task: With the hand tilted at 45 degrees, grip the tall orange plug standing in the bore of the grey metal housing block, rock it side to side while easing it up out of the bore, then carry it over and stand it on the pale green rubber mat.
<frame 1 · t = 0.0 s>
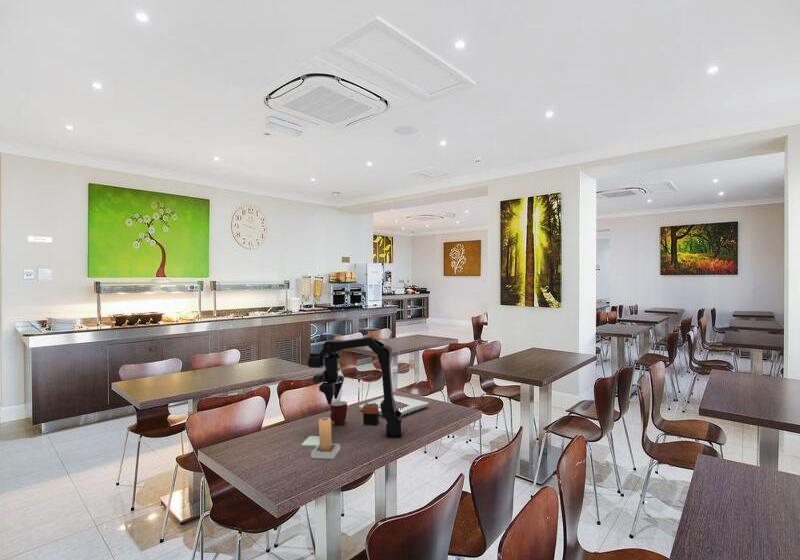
hand: (332, 401, 196), 15 cm above the table, tool pointing down, fingers open, 9 cm apart
square plate: (393, 410, 229), on the table
battery: (371, 424, 208), on the table
plug: (326, 454, 173), resting in housing
mug: (338, 425, 208), on the table
mat: (316, 441, 187), on the table
housing: (326, 453, 173), on the table
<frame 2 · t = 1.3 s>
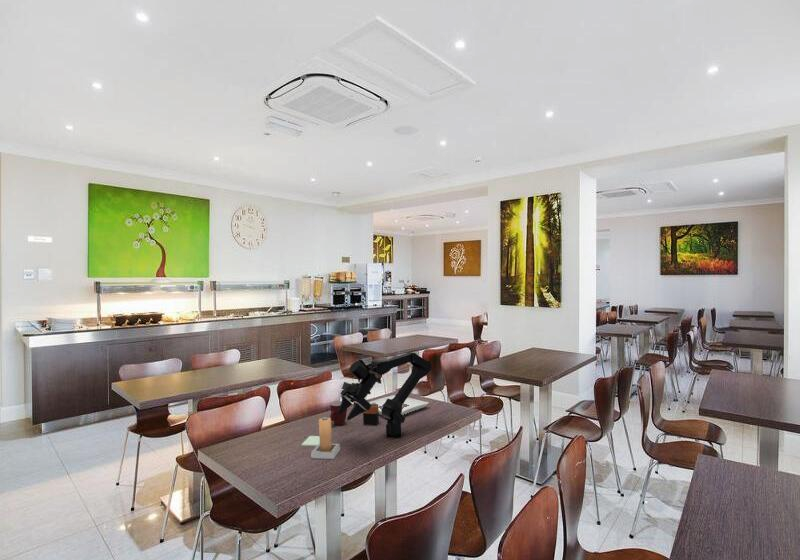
hand: (342, 416, 177), 13 cm above the table, tool tilted 45°, fingers open, 9 cm apart
nothing on the table moved.
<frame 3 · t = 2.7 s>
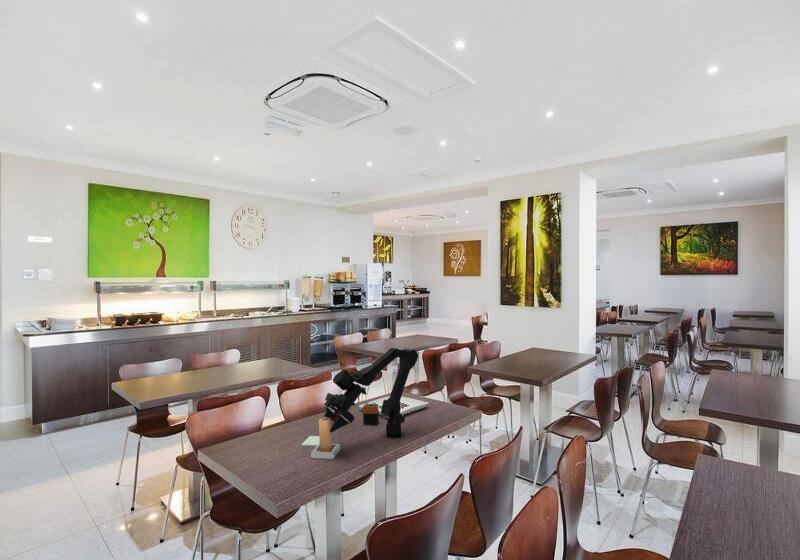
hand: (325, 428, 173), 10 cm above the table, tool tilted 45°, fingers open, 9 cm apart
nothing on the table moved.
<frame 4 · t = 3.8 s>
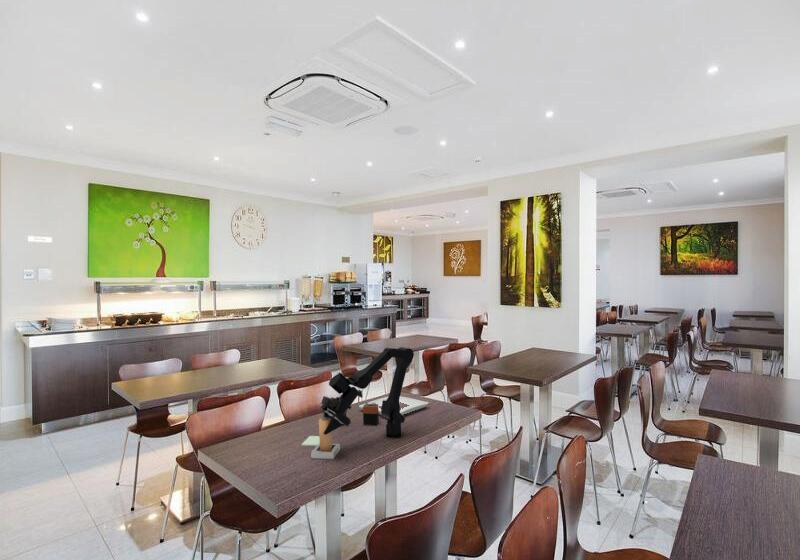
hand: (322, 432, 172), 9 cm above the table, tool tilted 45°, fingers closed on plug, 5 cm apart
plug: (326, 454, 173), resting in housing, touching gripper
everything else where it was.
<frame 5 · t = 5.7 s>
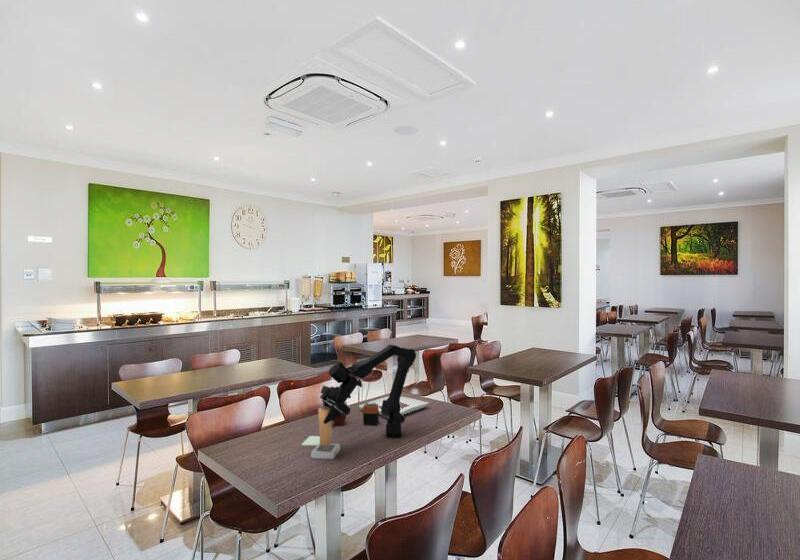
hand: (321, 421, 172), 13 cm above the table, tool tilted 45°, fingers closed on plug, 5 cm apart
plug: (325, 443, 173), point 4 cm above the table, touching gripper
everything else where it was.
when the fingers open (11 cm above the table, at t = 7.9 s): plug stays where it is, resting on mat.
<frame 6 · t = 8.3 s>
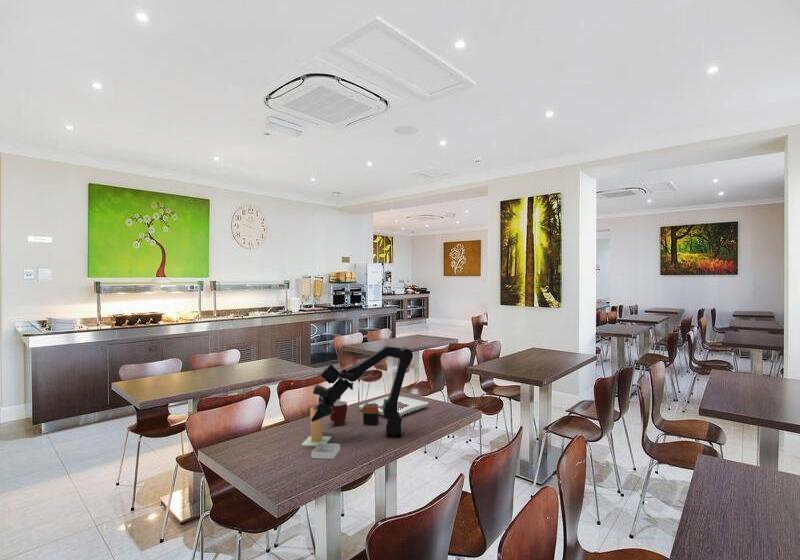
hand: (312, 417, 187), 11 cm above the table, tool tilted 45°, fingers open, 9 cm apart
plug: (316, 440, 187), point 1 cm above the table, touching mat
everything else where it was.
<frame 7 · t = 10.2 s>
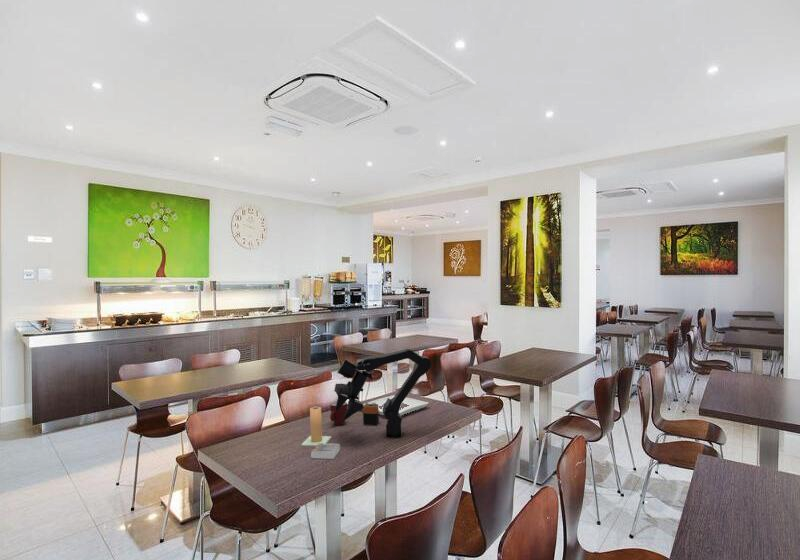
hand: (339, 414, 188), 11 cm above the table, tool tilted 30°, fingers open, 9 cm apart
nothing on the table moved.
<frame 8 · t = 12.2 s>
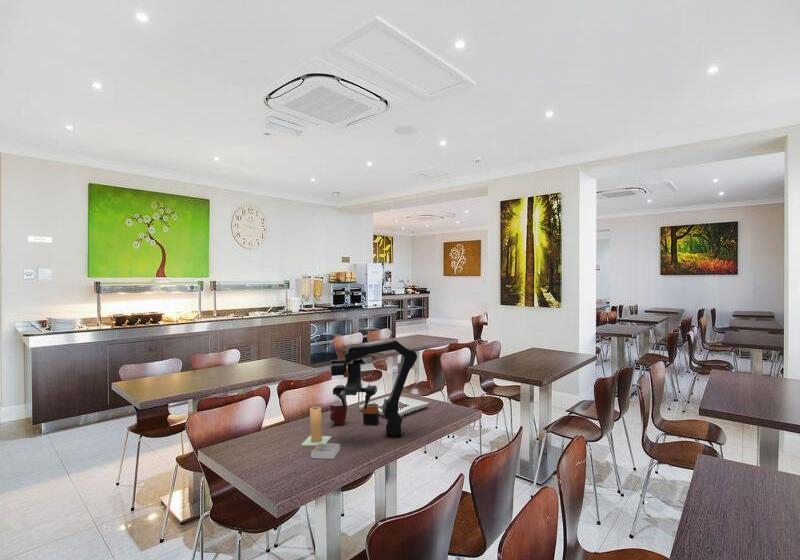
hand: (355, 409, 188), 13 cm above the table, tool pointing down, fingers open, 9 cm apart
nothing on the table moved.
at the end: plug inside the target area on the mat (0.1 cm from its centre), point 0.6 cm above the mat's base; plug tilted 1°; the gripper is holding nothing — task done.
